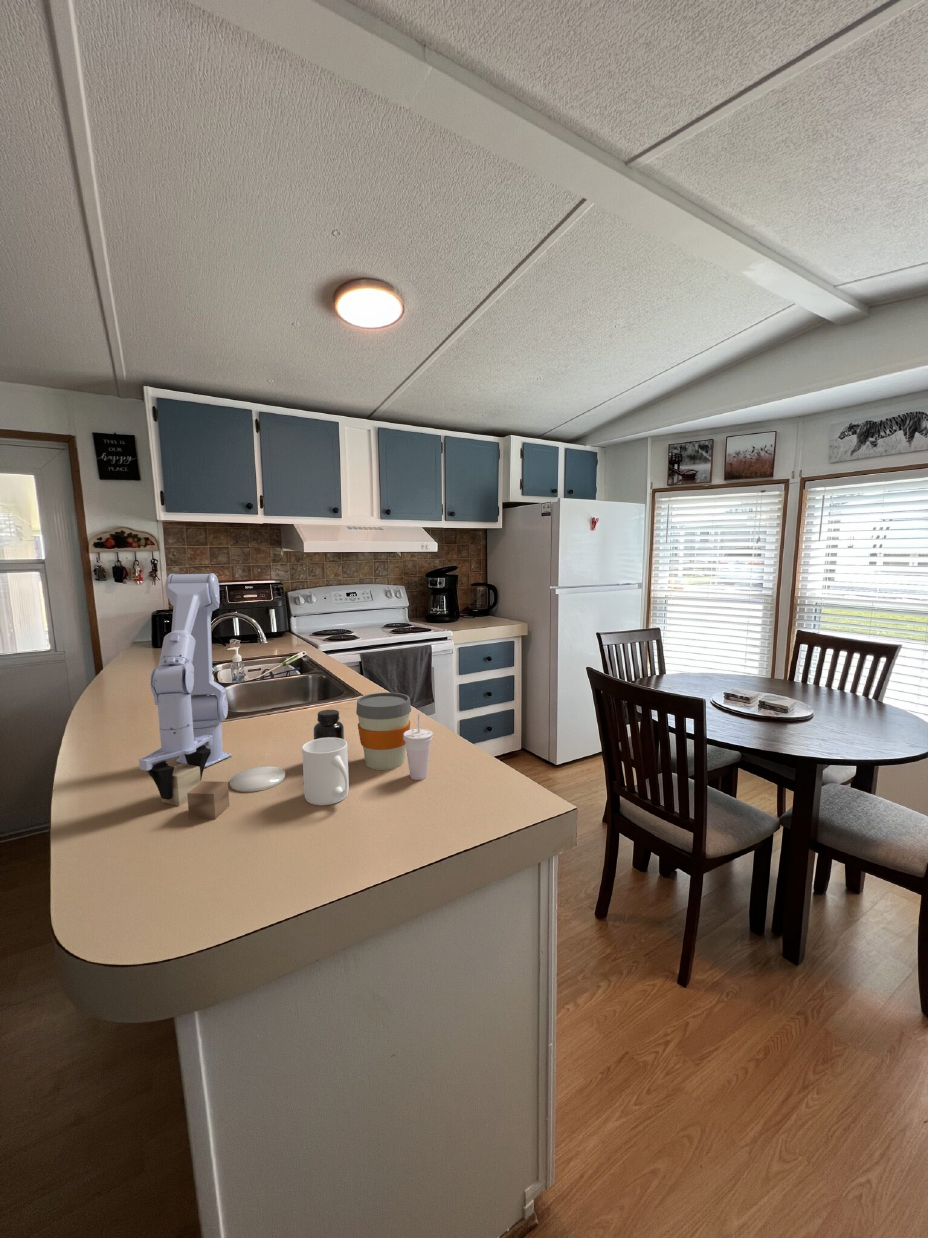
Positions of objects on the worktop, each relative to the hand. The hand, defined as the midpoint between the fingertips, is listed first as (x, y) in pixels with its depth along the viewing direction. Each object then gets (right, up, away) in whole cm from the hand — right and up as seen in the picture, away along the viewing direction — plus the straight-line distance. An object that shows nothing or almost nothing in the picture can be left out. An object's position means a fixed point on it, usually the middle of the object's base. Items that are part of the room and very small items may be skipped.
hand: (181, 791), depth 102 cm
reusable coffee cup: (+38, +1, +18) cm, 42 cm away
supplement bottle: (+25, +1, +18) cm, 31 cm away
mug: (+30, -2, -1) cm, 30 cm away
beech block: (0, -2, 0) cm, 2 cm away
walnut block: (+8, -2, -6) cm, 10 cm away
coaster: (+12, 0, +8) cm, 14 cm away
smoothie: (+46, 0, +10) cm, 47 cm away
